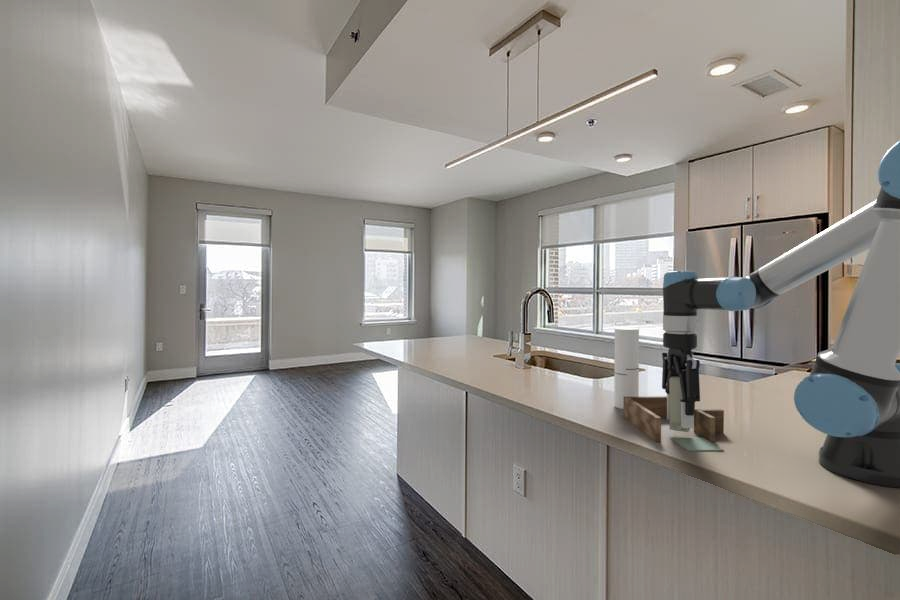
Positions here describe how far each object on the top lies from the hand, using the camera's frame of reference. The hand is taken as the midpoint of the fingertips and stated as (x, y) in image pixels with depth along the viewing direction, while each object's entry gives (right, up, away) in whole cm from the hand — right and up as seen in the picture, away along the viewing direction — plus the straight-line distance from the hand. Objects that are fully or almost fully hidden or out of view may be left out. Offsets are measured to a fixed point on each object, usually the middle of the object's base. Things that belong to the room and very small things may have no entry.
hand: (679, 423), depth 107 cm
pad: (+1, -4, -5) cm, 6 cm away
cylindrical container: (-2, -3, +28) cm, 28 cm away
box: (0, -2, 0) cm, 2 cm away
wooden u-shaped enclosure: (+3, -3, +7) cm, 8 cm away
